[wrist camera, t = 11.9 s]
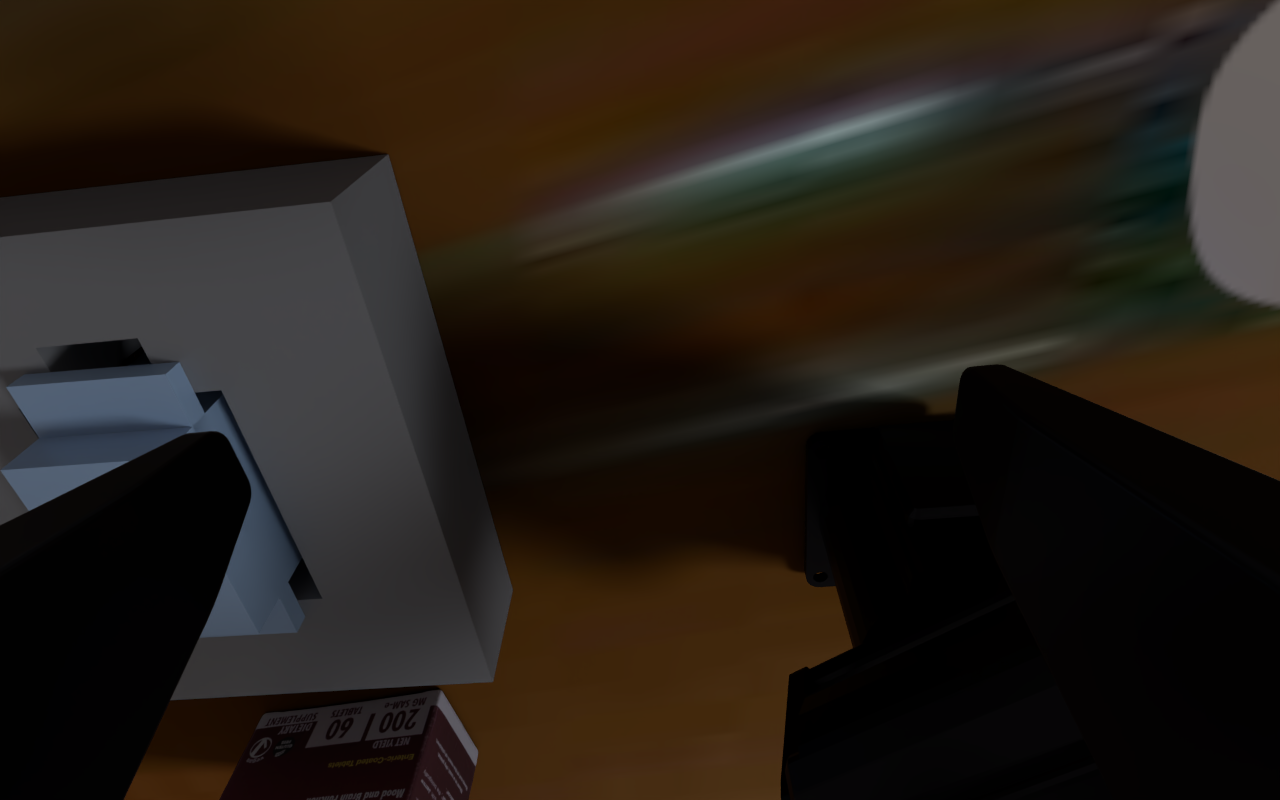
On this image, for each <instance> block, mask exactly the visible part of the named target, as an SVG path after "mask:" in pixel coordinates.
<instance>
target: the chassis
mask: <svg viewBox="0 0 1280 800" xmlns="http://www.w3.org/2000/svg"><path fill="white" fill-rule="evenodd" d="M141 346H142V347H143V349H144V351H145V353H146V355H147V357H148V359H149V361H150V362H151V364H159V363H171V362H180V364H181V366H182V368H183V370H184V372H185V374H186V376H187V378H188V380H189V382H190V384H191V386H192V388H193V390H194V392H195V393H196V392H207V391H218V390H221V391H222V393H223V395H224V397H225V399H226V401H227V403H228V405H229V407H230V409H231V411H232V413H233V415H234V417H235V419H236V422H237V424H238V426H239V428H240V430H241V432H242V434H243V436H244V438H245V440H246V442H247V444H248V446H249V448H250V450H251V452H252V455H253V457H254V459H255V461H256V463H257V465H258V467H259V469H260V471H261V473H262V475H263V477H264V479H265V481H266V483H267V486H268V488H269V490H270V492H271V494H272V496H273V498H274V500H275V502H276V504H277V506H278V508H279V510H280V512H281V514H282V516H283V519H284V521H285V523H286V525H287V527H288V529H289V531H290V533H291V535H292V537H293V539H294V541H295V543H296V545H297V547H298V549H299V552H300V554H301V556H302V558H301V560H300V562H299V564H298V566H297V567H296V569H295V571H294V573H293V574H292V576H291V578H290V580H289V581H288V583H289V585H290V587H291V589H292V591H293V593H294V595H295V597H296V599H297V601H298V603H299V605H300V607H301V609H302V611H303V613H304V615H305V618H304V620H303V622H302V624H301V626H300V628H299V630H298V632H297V633H279V634H261V635H243V636H224V637H206V638H199V640H198V642H197V644H196V646H195V649H194V651H193V653H192V655H191V657H190V659H189V661H188V663H187V666H186V668H185V670H184V672H183V674H182V676H181V678H180V681H179V683H178V685H177V687H176V689H175V691H174V693H173V695H172V698H171V700H185V699H202V698H219V697H237V696H254V695H272V694H289V693H306V692H324V691H341V690H359V689H376V688H393V687H411V686H428V685H446V684H463V683H480V682H493V679H494V675H495V670H496V665H497V661H498V656H499V651H500V647H501V642H502V638H503V633H504V628H505V624H506V619H507V614H508V610H509V605H510V601H511V596H512V591H513V589H512V585H511V582H510V578H509V575H508V571H507V568H506V564H505V561H504V557H503V554H502V550H501V547H500V543H499V540H498V537H497V533H496V530H495V526H494V523H493V519H492V516H491V512H490V509H489V505H488V502H487V498H486V495H485V491H484V488H483V484H482V481H481V477H480V474H479V470H478V467H477V463H476V460H475V456H474V453H473V449H472V446H471V442H470V439H469V435H468V432H467V428H466V425H465V421H464V418H463V414H462V411H461V407H460V404H459V400H458V397H457V393H456V390H455V386H454V383H453V379H452V376H451V372H450V369H449V365H448V362H447V358H446V355H445V351H444V348H443V344H442V341H441V337H440V334H439V330H438V327H437V323H436V320H435V316H434V313H433V309H432V306H431V302H430V299H429V295H428V292H427V288H426V285H425V281H424V278H423V274H422V271H421V267H420V264H419V260H418V257H417V253H416V250H415V246H414V243H413V239H412V236H411V232H410V229H409V225H408V222H407V218H406V215H405V211H404V208H403V204H402V201H401V197H400V194H399V190H398V187H397V183H396V180H395V176H394V173H393V169H392V166H391V162H390V159H389V155H388V154H386V155H377V156H368V157H359V158H350V159H341V160H332V161H323V162H314V163H305V164H296V165H287V166H278V167H269V168H261V169H252V170H243V171H234V172H225V173H216V174H207V175H198V176H189V177H180V178H171V179H162V180H153V181H144V182H135V183H126V184H118V185H109V186H100V187H91V188H82V189H73V190H64V191H55V192H46V193H37V194H28V195H19V196H10V197H1V198H0V470H1V469H2V468H4V467H5V466H6V465H7V464H8V463H10V462H11V461H12V460H13V459H15V458H16V457H17V456H18V455H19V454H21V453H22V452H23V451H24V450H26V449H27V448H28V447H29V446H30V445H32V444H33V443H34V442H35V441H37V440H38V439H39V437H38V435H37V434H36V432H35V431H34V429H33V428H32V426H31V425H30V423H29V422H28V420H27V419H26V417H25V416H24V414H23V412H22V411H21V409H20V408H19V406H18V405H17V403H16V402H15V400H14V399H13V397H12V396H11V394H10V392H9V391H8V389H7V388H6V387H7V386H8V385H10V384H11V383H13V382H14V381H15V380H17V379H18V378H20V377H21V376H23V375H24V374H35V373H48V372H60V371H72V370H85V369H97V368H109V367H122V366H128V365H129V364H131V362H130V360H129V359H128V357H129V356H130V355H131V354H133V353H134V352H135V351H136V350H138V349H139V348H140V347H141ZM28 511H29V510H28V509H27V508H26V506H25V505H24V503H23V502H22V500H21V499H20V498H19V496H18V495H17V493H16V492H15V491H14V489H13V488H12V486H11V485H10V483H9V482H8V481H7V479H6V478H5V476H4V475H3V474H2V472H1V471H0V525H2V524H4V523H6V522H8V521H10V520H12V519H14V518H16V517H18V516H20V515H22V514H24V513H26V512H28Z"/></svg>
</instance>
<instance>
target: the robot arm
mask: <svg viewBox="0 0 1280 800" xmlns="http://www.w3.org/2000/svg"><path fill="white" fill-rule="evenodd" d="M824 445H825V446H829V447H828V448H827V449H826V450H824V451H817V449H818V448H819V447H820V446H824ZM250 501H251V485H250V482H249V479H248V477H247V475H246V473H245V471H244V469H243V467H242V465H241V463H240V461H239V459H238V457H237V455H236V453H235V451H234V449H233V447H232V445H231V443H230V441H229V440H228V438H227V437H226V436H225V435H224V434H222V433H220V432H218V431H206V432H194V433H187V434H184V435H181V436H179V437H177V438H175V439H173V440H171V441H169V442H167V443H165V444H163V445H161V446H159V447H157V448H155V449H153V450H151V451H149V452H147V453H145V454H143V455H141V456H139V457H137V458H135V459H133V460H131V461H129V462H127V463H125V464H123V465H121V466H119V467H117V468H115V469H113V470H111V471H109V472H106V473H104V474H102V475H100V476H98V477H96V478H94V479H92V480H90V481H88V482H86V483H84V484H82V485H80V486H78V487H76V488H74V489H72V490H70V491H68V492H66V493H64V494H62V495H60V496H58V497H56V498H54V499H52V500H50V501H48V502H46V503H44V504H42V505H40V506H38V507H36V508H34V509H32V510H30V511H28V512H26V513H24V514H22V515H20V516H18V517H16V518H14V519H12V520H10V521H8V522H6V523H4V524H2V525H0V800H124V798H125V796H126V793H127V791H128V789H129V787H130V785H131V783H132V781H133V779H134V776H135V774H136V772H137V770H138V768H139V766H140V764H141V761H142V759H143V757H144V755H145V753H146V751H147V749H148V747H149V744H150V742H151V740H152V738H153V736H154V734H155V732H156V730H157V727H158V725H159V723H160V721H161V719H162V717H163V715H164V712H165V710H166V708H167V706H168V704H169V702H170V700H171V698H172V695H173V693H174V691H175V689H176V687H177V685H178V683H179V681H180V678H181V676H182V674H183V672H184V670H185V668H186V666H187V663H188V661H189V659H190V657H191V655H192V653H193V651H194V649H195V646H196V644H197V642H198V640H199V638H200V636H201V634H202V631H203V629H204V627H205V625H206V623H207V621H208V618H209V616H210V614H211V612H212V609H213V607H214V605H215V602H216V599H217V597H218V594H219V591H220V589H221V586H222V583H223V580H224V577H225V574H226V571H227V568H228V566H229V563H230V560H231V557H232V554H233V551H234V548H235V545H236V542H237V540H238V537H239V534H240V531H241V528H242V525H243V522H244V519H245V516H246V514H247V511H248V508H249V505H250ZM804 571H805V575H806V579H807V582H808V583H809V584H810V585H812V586H815V587H827V586H836V588H837V592H838V595H839V599H840V603H841V606H842V610H843V613H844V617H845V621H846V624H847V628H848V631H849V635H850V639H851V642H852V646H853V648H852V649H850V650H848V651H846V652H844V653H842V654H840V655H838V656H836V657H833V658H831V659H829V660H827V661H825V662H823V663H821V664H819V665H817V666H815V667H813V668H811V669H809V668H808V667H804V668H802V669H800V670H798V671H796V672H794V673H792V674H790V675H789V685H788V697H787V710H786V722H785V735H784V747H783V760H782V772H781V800H1280V481H1279V480H1276V479H1274V478H1271V477H1269V476H1267V475H1264V474H1262V473H1259V472H1257V471H1255V470H1252V469H1250V468H1248V467H1245V466H1243V465H1240V464H1238V463H1236V462H1233V461H1231V460H1228V459H1226V458H1224V457H1221V456H1219V455H1217V454H1214V453H1212V452H1209V451H1207V450H1205V449H1202V448H1200V447H1197V446H1195V445H1193V444H1190V443H1188V442H1186V441H1183V440H1181V439H1178V438H1176V437H1174V436H1171V435H1169V434H1166V433H1164V432H1162V431H1159V430H1157V429H1155V428H1152V427H1150V426H1147V425H1145V424H1143V423H1140V422H1138V421H1136V420H1133V419H1131V418H1128V417H1126V416H1124V415H1121V414H1119V413H1117V412H1114V411H1112V410H1109V409H1107V408H1105V407H1102V406H1100V405H1097V404H1095V403H1093V402H1090V401H1088V400H1086V399H1083V398H1081V397H1078V396H1076V395H1074V394H1071V393H1069V392H1067V391H1064V390H1062V389H1059V388H1057V387H1055V386H1052V385H1050V384H1047V383H1045V382H1043V381H1040V380H1038V379H1036V378H1033V377H1031V376H1028V375H1026V374H1024V373H1021V372H1019V371H1017V370H1014V369H1012V368H1009V367H1007V366H1004V365H985V366H974V367H969V368H967V369H965V371H964V372H963V373H962V376H961V378H960V383H959V390H958V397H957V404H956V411H955V418H954V420H950V421H937V422H925V423H912V424H900V425H887V426H879V427H876V428H863V429H851V430H838V431H826V432H819V433H815V434H814V435H812V436H810V438H809V439H808V440H807V443H806V463H805V551H804ZM818 572H823V573H820V574H816V573H818Z"/></svg>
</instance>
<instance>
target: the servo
mask: <svg viewBox="0 0 1280 800" xmlns="http://www.w3.org/2000/svg"><path fill="white" fill-rule="evenodd" d="M6 388H7V389H8V391H9V392H10V394H11V396H12V397H13V399H14V400H15V402H16V403H17V405H18V406H19V408H20V409H21V411H22V412H23V414H24V416H25V417H26V419H27V420H28V422H29V423H30V425H31V426H32V428H33V429H34V431H35V432H36V434H37V435H38V437H39V439H38V440H37V441H35V442H34V443H33V444H32V445H30V446H29V447H28V448H27V449H26V450H24V451H23V452H22V453H21V454H19V455H18V456H17V457H16V458H15V459H13V460H12V461H11V462H10V463H8V464H7V465H6V466H5V467H4V468H2V469H1V470H0V471H1V472H2V474H3V475H4V476H5V478H6V479H7V481H8V482H9V483H10V485H11V486H12V488H13V489H14V491H15V492H16V493H17V495H18V496H19V498H20V499H21V500H22V502H23V503H24V505H25V506H26V508H27V509H28V510H29V511H30V510H32V509H34V508H36V507H38V506H40V505H42V504H44V503H46V502H48V501H50V500H52V499H54V498H56V497H58V496H60V495H62V494H64V493H66V492H68V491H70V490H72V489H74V488H76V487H78V486H80V485H82V484H84V483H86V482H88V481H90V480H92V479H94V478H96V477H98V476H100V475H102V474H104V473H106V472H109V471H111V470H113V469H115V468H117V467H119V466H121V465H123V464H125V463H127V462H129V461H131V460H133V459H135V458H137V457H139V456H141V455H143V454H145V453H147V452H149V451H151V450H153V449H155V448H157V447H159V446H161V445H163V444H165V443H167V442H169V441H171V440H173V439H175V438H177V437H179V436H181V435H184V434H187V433H194V432H206V431H218V432H220V433H222V434H224V435H225V436H226V437H227V438H228V440H229V441H230V443H231V445H232V447H233V449H234V451H235V453H236V455H237V457H238V459H239V461H240V463H241V465H242V467H243V469H244V471H245V473H246V475H247V477H248V479H249V482H250V485H251V501H250V505H249V508H248V511H247V514H246V516H245V519H244V522H243V525H242V528H241V531H240V534H239V537H238V540H237V542H236V545H235V548H234V551H233V554H232V557H231V560H230V563H229V566H228V568H227V571H226V574H225V577H224V580H223V583H222V586H221V589H220V591H219V594H218V597H217V599H216V602H215V605H214V607H213V609H212V612H211V614H210V616H209V618H208V621H207V623H206V625H205V627H204V629H203V631H202V634H201V636H200V638H206V637H224V636H243V635H261V634H279V633H297V632H298V630H299V628H300V626H301V624H302V622H303V620H304V618H305V615H304V613H303V611H302V609H301V607H300V605H299V603H298V601H297V599H296V597H295V595H294V593H293V591H292V589H291V587H290V585H289V583H288V581H289V580H290V578H291V576H292V574H293V573H294V571H295V569H296V567H297V566H298V564H299V562H300V560H301V558H302V556H301V554H300V552H299V549H298V547H297V545H296V543H295V541H294V539H293V537H292V535H291V533H290V531H289V529H288V527H287V525H286V523H285V521H284V519H283V516H282V514H281V512H280V510H279V508H278V506H277V504H276V502H275V500H274V498H273V496H272V494H271V492H270V490H269V488H268V486H267V483H266V481H265V479H264V477H263V475H262V473H261V471H260V469H259V467H258V465H257V463H256V461H255V459H254V457H253V455H252V452H251V450H250V448H249V446H248V444H247V442H246V440H245V438H244V436H243V434H242V432H241V430H240V428H239V426H238V424H237V422H236V419H235V417H234V415H233V413H232V411H231V409H230V407H229V405H228V403H227V401H226V399H225V397H224V395H223V393H222V391H221V390H218V391H207V392H196V393H195V392H194V390H193V388H192V386H191V384H190V382H189V380H188V378H187V376H186V374H185V372H184V370H183V368H182V366H181V364H180V362H171V363H159V364H151V362H150V361H149V359H148V357H147V355H146V353H145V352H144V353H143V354H142V355H140V356H139V357H138V358H137V359H135V360H134V361H133V362H132V363H131V364H129V365H128V366H122V367H109V368H97V369H85V370H72V371H60V372H48V373H35V374H24V375H23V376H21V377H20V378H18V379H17V380H15V381H14V382H13V383H11V384H10V385H8V386H7V387H6Z"/></svg>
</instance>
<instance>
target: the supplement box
mask: <svg viewBox="0 0 1280 800" xmlns="http://www.w3.org/2000/svg"><path fill="white" fill-rule="evenodd" d="M477 757H478V750H477V748H476V747H475V745H474V743H473V742H472V740H471V738H470V737H469V735H468V733H467V732H466V730H465V728H464V726H463V725H462V723H461V721H460V720H459V718H458V716H457V715H456V713H455V711H454V710H453V708H452V706H451V705H450V703H449V702H448V700H447V698H446V697H445V695H444V693H443V692H442V690H440V689H438V690H430V691H426V692H423V693H418V694H411V695H405V696H398V697H391V698H384V699H377V700H371V701H363V702H356V703H349V704H342V705H335V706H327V707H320V708H311V709H303V710H295V711H286V712H271V713H266V714H264V715H263V716H262V718H261V720H260V721H259V723H258V725H257V727H256V729H255V731H254V733H253V735H252V737H251V739H250V741H249V743H248V745H247V747H246V749H245V751H244V753H243V754H242V756H241V758H240V760H239V762H238V764H237V766H236V768H235V770H234V772H233V774H232V776H231V778H230V780H229V782H228V784H227V786H226V788H225V790H224V792H223V793H222V796H221V798H220V800H468V799H469V794H470V790H471V786H472V781H473V776H474V771H475V767H476V762H477Z"/></svg>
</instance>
